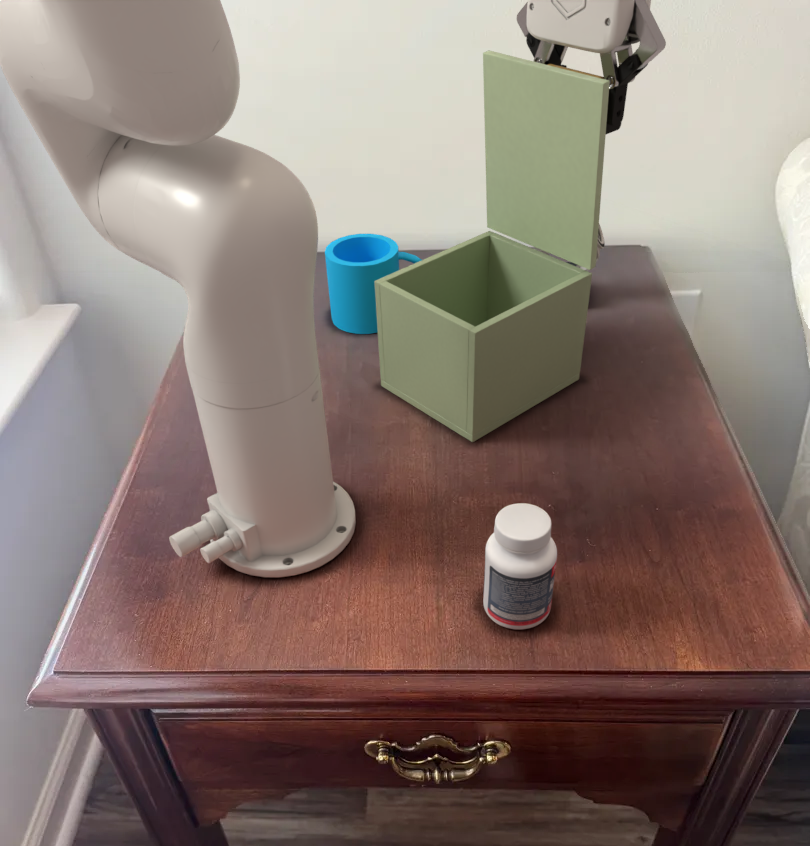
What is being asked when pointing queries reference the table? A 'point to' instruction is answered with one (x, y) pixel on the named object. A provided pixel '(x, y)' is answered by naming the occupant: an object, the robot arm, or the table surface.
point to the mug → (359, 278)
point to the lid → (544, 154)
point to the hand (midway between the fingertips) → (577, 121)
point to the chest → (481, 331)
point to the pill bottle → (519, 567)
